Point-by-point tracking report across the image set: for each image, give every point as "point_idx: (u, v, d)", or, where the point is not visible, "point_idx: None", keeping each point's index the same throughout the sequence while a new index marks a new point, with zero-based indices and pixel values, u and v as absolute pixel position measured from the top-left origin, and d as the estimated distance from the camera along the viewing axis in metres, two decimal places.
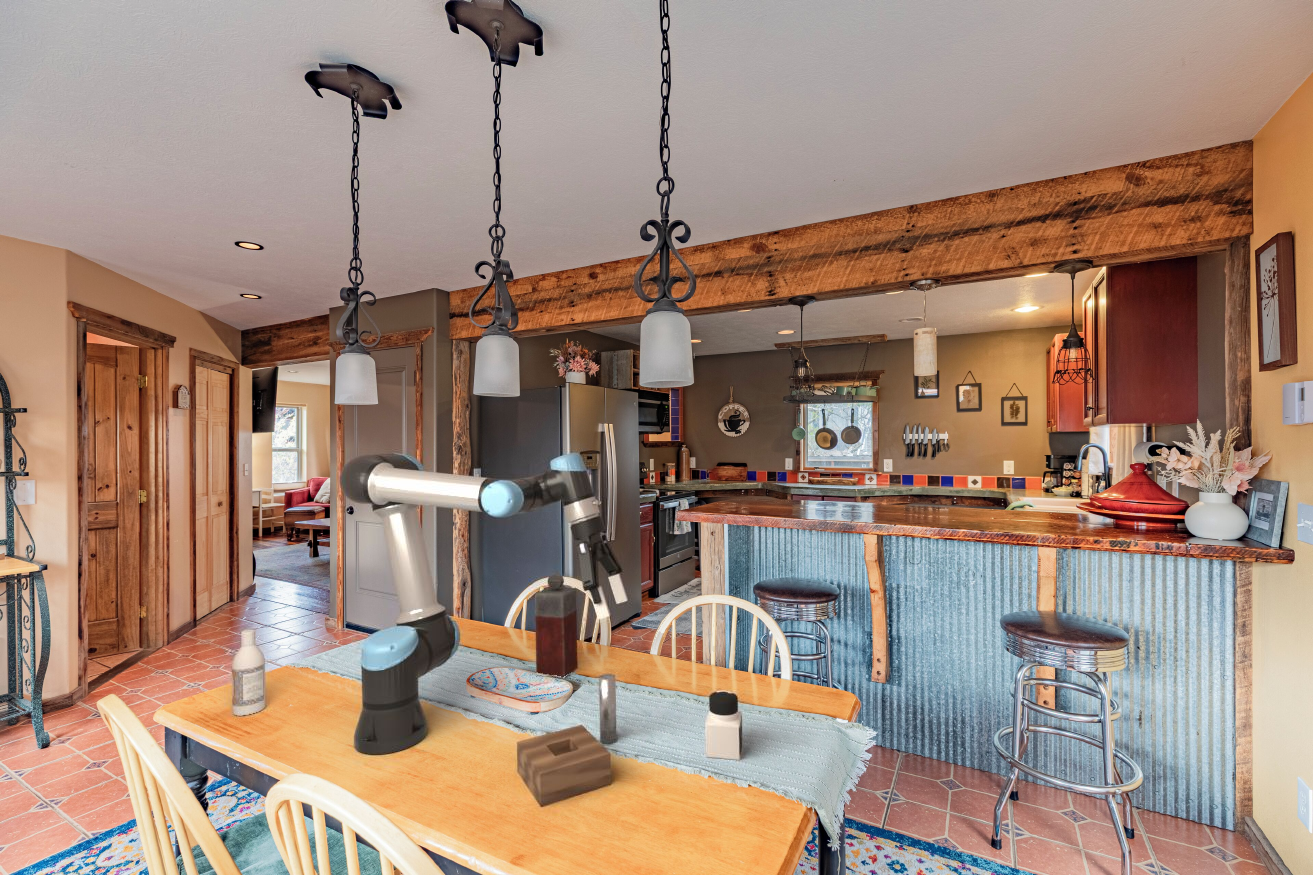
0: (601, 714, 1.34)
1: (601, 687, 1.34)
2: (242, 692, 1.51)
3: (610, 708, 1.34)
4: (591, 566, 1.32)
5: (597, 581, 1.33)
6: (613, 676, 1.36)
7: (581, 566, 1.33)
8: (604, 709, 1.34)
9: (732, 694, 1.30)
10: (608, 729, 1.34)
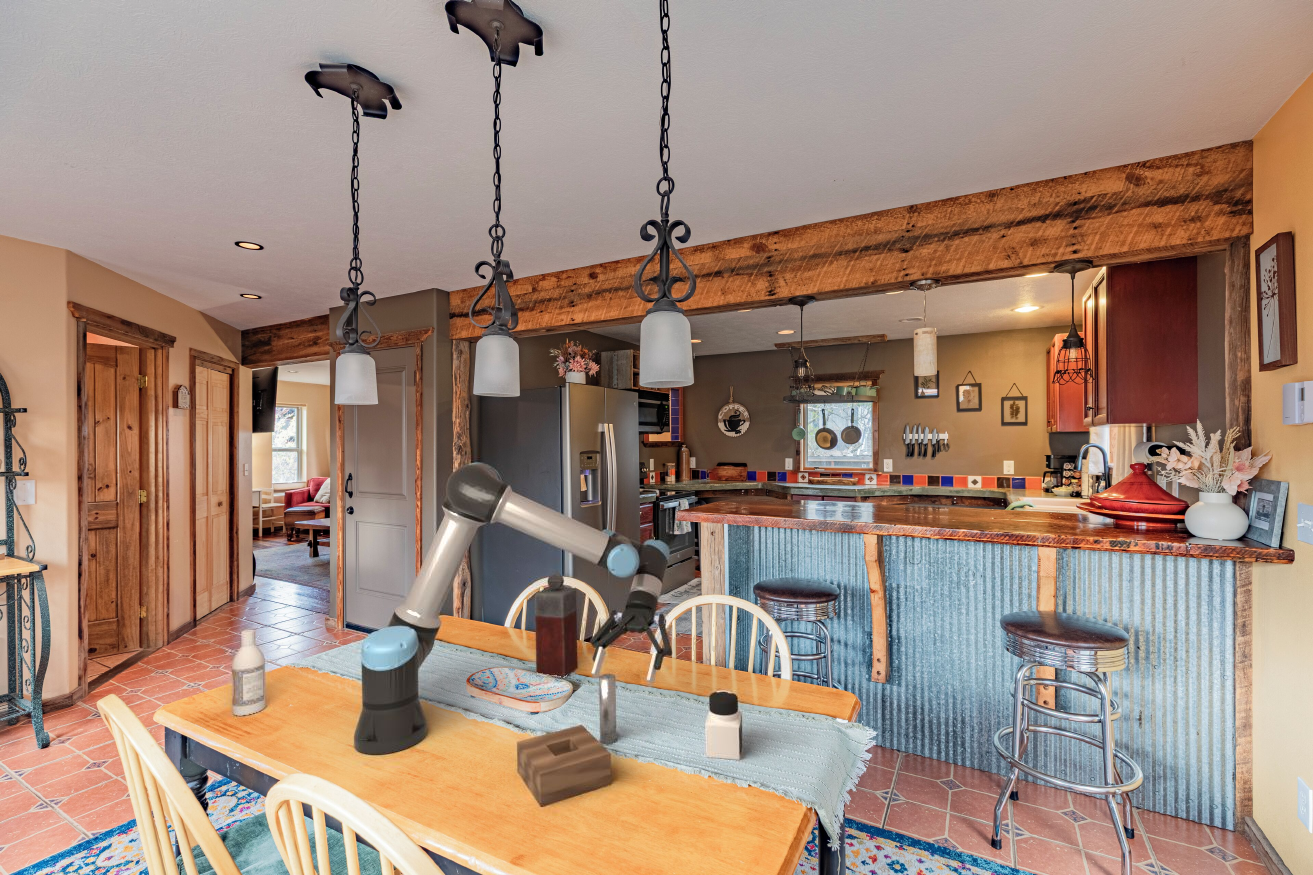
0: (601, 714, 1.34)
1: (601, 687, 1.34)
2: (242, 692, 1.51)
3: (610, 708, 1.34)
4: None
5: None
6: (613, 676, 1.36)
7: (665, 632, 1.45)
8: (604, 709, 1.34)
9: (732, 694, 1.30)
10: (608, 729, 1.34)
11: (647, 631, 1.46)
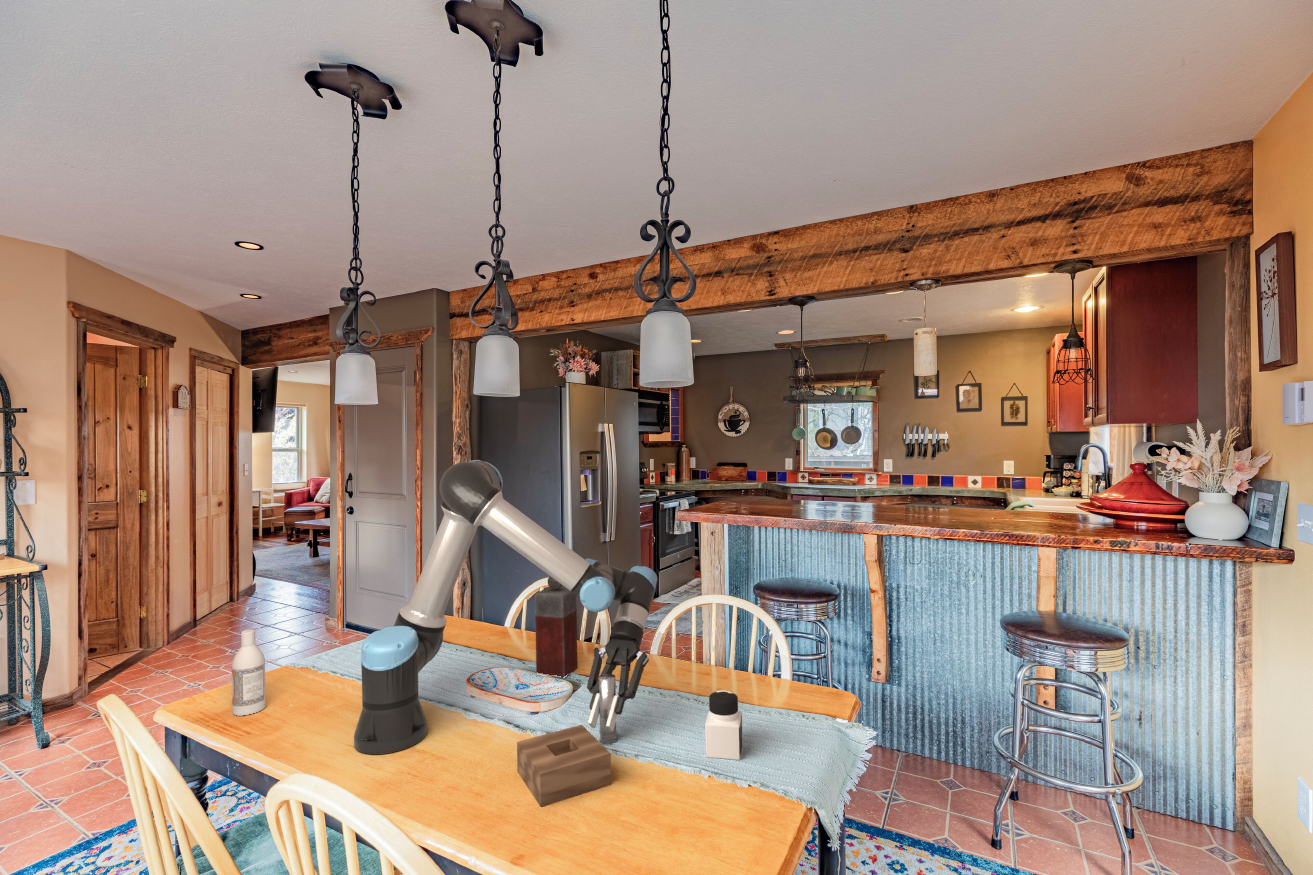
0: (601, 714, 1.34)
1: (601, 687, 1.34)
2: (242, 692, 1.51)
3: (610, 708, 1.34)
4: None
5: None
6: (613, 676, 1.36)
7: (638, 674, 1.37)
8: (604, 709, 1.34)
9: (732, 694, 1.30)
10: (608, 729, 1.34)
11: (622, 667, 1.39)
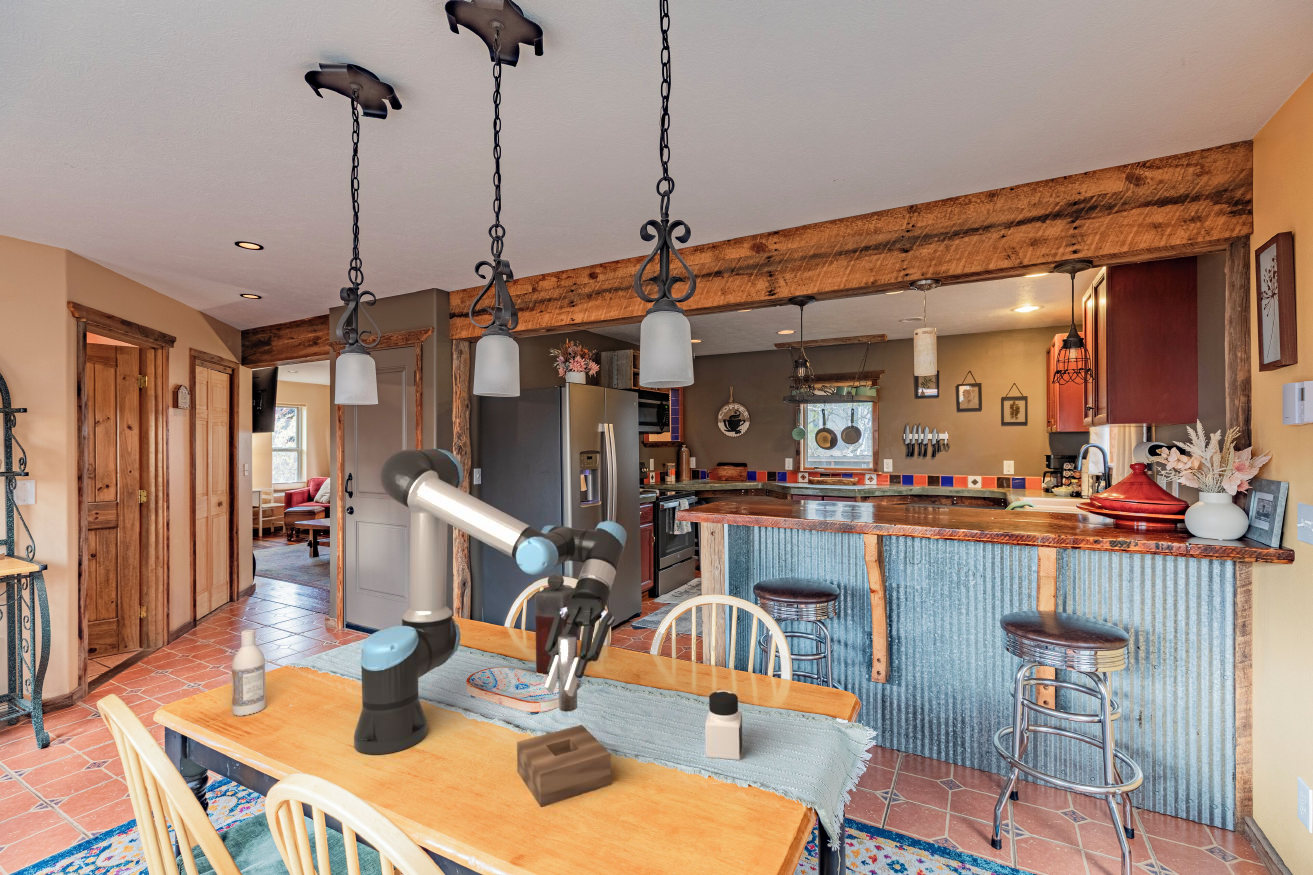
0: (560, 678, 1.21)
1: (560, 648, 1.21)
2: (242, 692, 1.51)
3: None
4: None
5: None
6: (574, 636, 1.22)
7: (601, 634, 1.24)
8: (563, 672, 1.20)
9: (732, 694, 1.30)
10: None
11: (585, 627, 1.26)
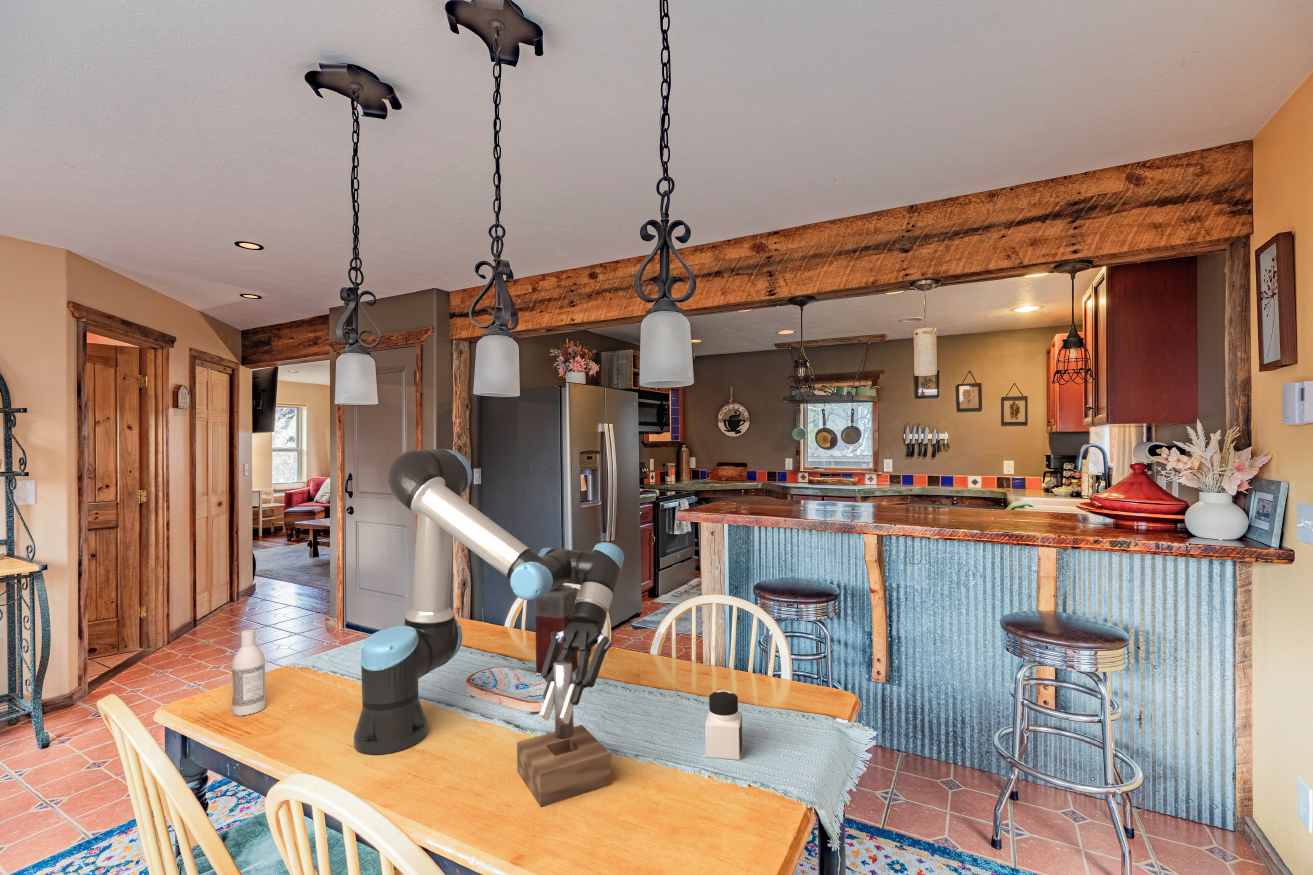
0: (556, 705, 1.19)
1: (556, 675, 1.19)
2: (242, 692, 1.51)
3: None
4: None
5: None
6: (569, 662, 1.21)
7: (598, 659, 1.22)
8: (558, 698, 1.19)
9: (732, 694, 1.30)
10: None
11: (581, 653, 1.24)
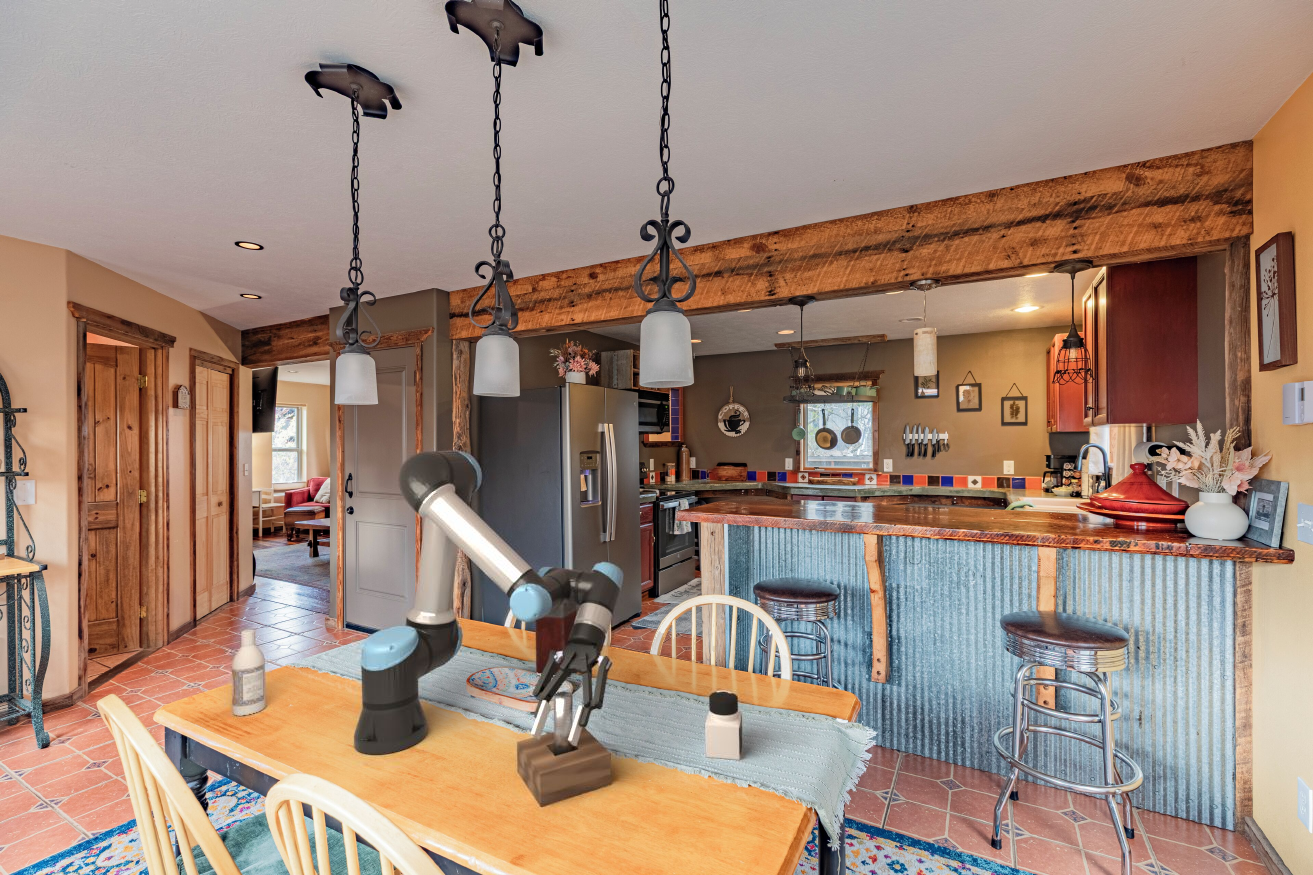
0: (555, 737, 1.19)
1: (556, 708, 1.19)
2: (242, 692, 1.51)
3: (565, 731, 1.19)
4: None
5: None
6: (570, 695, 1.21)
7: (602, 680, 1.23)
8: (558, 732, 1.19)
9: (732, 694, 1.30)
10: None
11: (583, 675, 1.24)
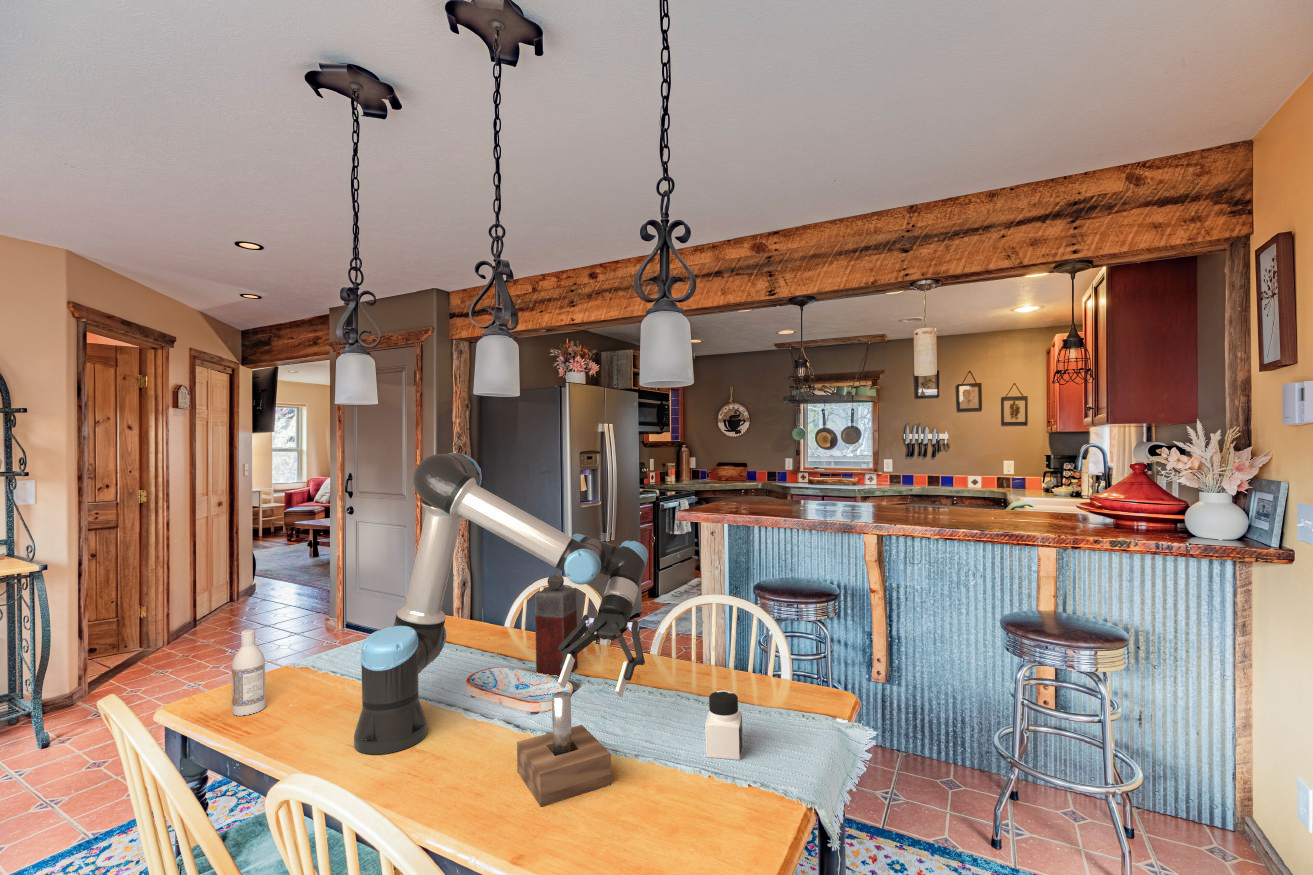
0: (554, 737, 1.20)
1: (554, 707, 1.19)
2: (242, 692, 1.51)
3: (564, 731, 1.19)
4: None
5: None
6: (568, 694, 1.21)
7: (638, 640, 1.35)
8: (557, 731, 1.19)
9: (732, 694, 1.30)
10: None
11: (619, 638, 1.36)
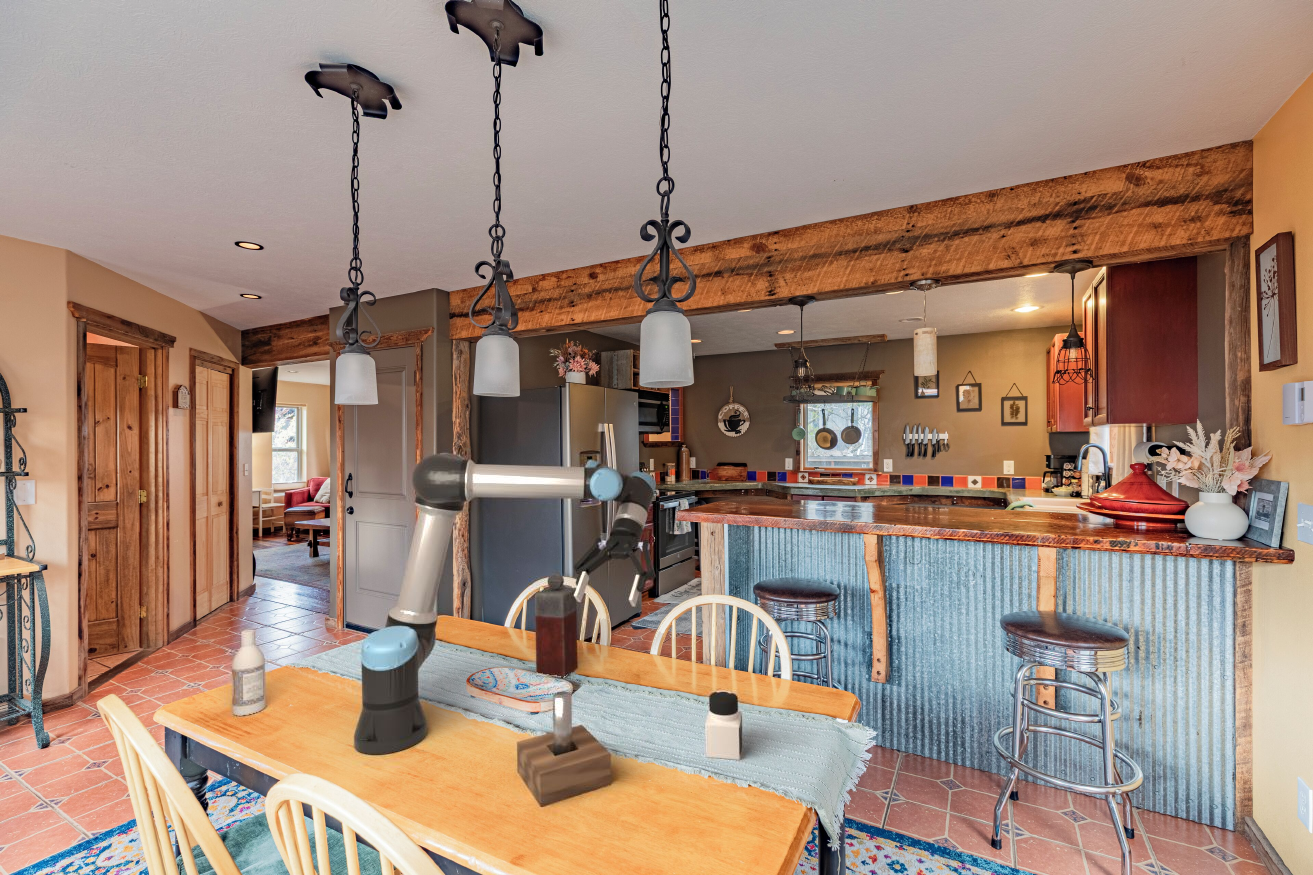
0: (555, 737, 1.20)
1: (555, 707, 1.19)
2: (242, 692, 1.51)
3: (565, 731, 1.19)
4: None
5: None
6: (569, 694, 1.21)
7: (649, 556, 1.44)
8: (557, 731, 1.19)
9: (732, 694, 1.30)
10: None
11: (631, 556, 1.45)
